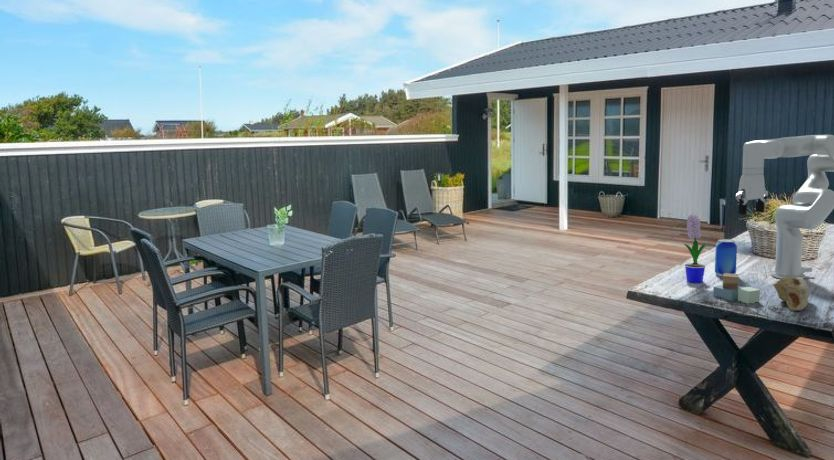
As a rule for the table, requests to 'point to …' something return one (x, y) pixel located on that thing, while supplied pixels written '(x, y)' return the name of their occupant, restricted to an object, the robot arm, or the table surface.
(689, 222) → the hyacinth
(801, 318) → the table surface
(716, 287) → the base block
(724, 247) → the beer can
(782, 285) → the stone
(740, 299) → the sage cube
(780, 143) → the robot arm
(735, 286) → the walnut cube
